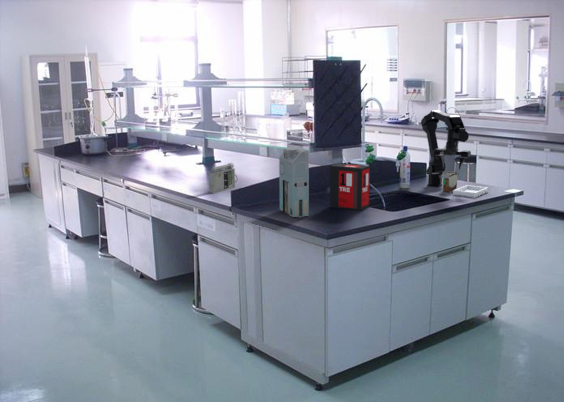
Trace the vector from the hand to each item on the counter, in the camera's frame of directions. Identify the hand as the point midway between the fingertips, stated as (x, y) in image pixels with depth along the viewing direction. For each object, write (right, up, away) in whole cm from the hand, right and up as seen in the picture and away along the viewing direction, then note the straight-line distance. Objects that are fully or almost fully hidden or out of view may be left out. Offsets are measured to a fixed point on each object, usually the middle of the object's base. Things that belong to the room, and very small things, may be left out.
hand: (451, 168), depth 338 cm
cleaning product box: (-58, -20, -34) cm, 70 cm away
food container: (-1, -12, +3) cm, 12 cm away
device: (-85, -23, -46) cm, 99 cm away
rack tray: (+9, -13, -5) cm, 17 cm away
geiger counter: (-122, -11, +12) cm, 123 cm away
